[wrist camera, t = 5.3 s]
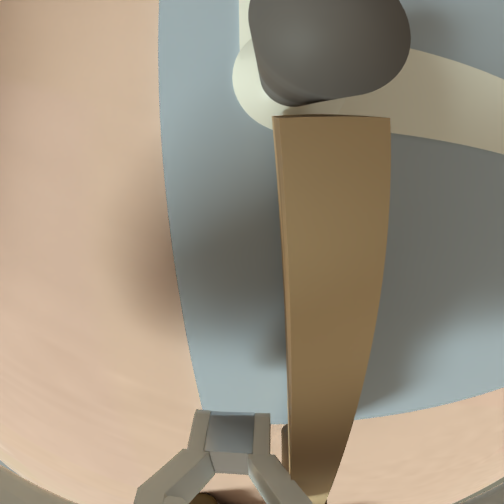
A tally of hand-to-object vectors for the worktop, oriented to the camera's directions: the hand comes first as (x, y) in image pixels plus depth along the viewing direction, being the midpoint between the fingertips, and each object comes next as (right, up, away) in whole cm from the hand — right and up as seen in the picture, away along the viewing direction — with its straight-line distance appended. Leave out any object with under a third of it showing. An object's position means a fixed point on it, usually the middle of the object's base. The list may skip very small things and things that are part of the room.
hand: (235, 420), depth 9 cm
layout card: (+7, +10, -2) cm, 12 cm away
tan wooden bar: (+2, +4, 0) cm, 4 cm away
